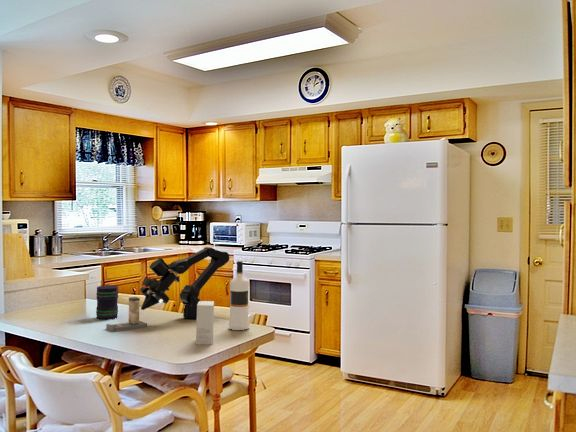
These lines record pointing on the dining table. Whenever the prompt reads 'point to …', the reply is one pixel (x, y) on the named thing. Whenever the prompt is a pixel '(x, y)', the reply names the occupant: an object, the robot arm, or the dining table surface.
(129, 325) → the fader track
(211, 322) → the skincare box
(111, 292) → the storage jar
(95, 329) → the dining table surface
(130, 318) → the lever
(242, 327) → the vodka
